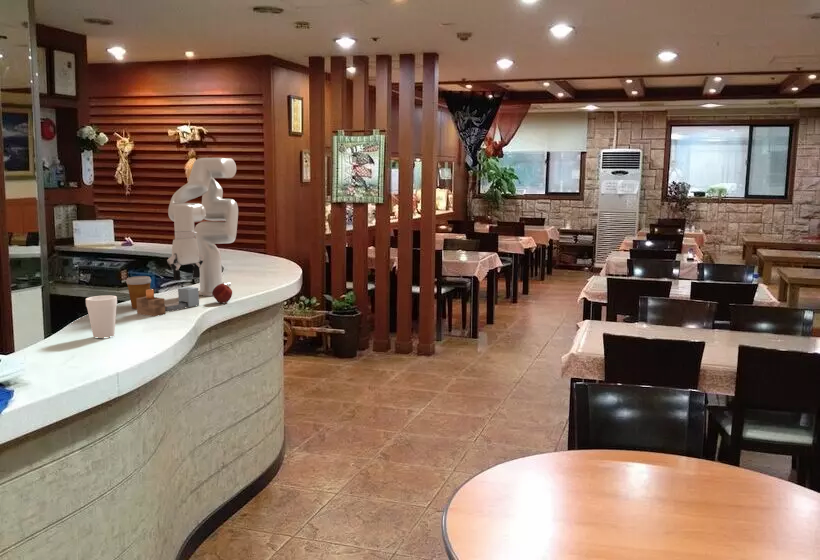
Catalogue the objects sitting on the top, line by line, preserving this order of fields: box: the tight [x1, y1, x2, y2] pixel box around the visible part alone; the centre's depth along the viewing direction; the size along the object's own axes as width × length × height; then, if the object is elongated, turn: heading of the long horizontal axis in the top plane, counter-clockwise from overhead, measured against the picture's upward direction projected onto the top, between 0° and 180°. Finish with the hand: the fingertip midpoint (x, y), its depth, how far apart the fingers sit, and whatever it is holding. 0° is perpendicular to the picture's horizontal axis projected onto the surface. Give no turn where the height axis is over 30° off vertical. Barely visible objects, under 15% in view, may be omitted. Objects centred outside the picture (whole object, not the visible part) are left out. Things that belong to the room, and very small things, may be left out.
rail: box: [165, 301, 188, 312], centre depth 291 cm, size 15×4×2 cm, turn 147°
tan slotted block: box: [136, 296, 166, 317], centre depth 280 cm, size 5×10×6 cm, turn 57°
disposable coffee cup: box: [125, 275, 152, 310], centre depth 293 cm, size 10×10×12 cm
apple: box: [212, 284, 233, 304], centre depth 301 cm, size 7×8×8 cm
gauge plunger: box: [146, 288, 155, 300], centre depth 279 cm, size 3×3×4 cm
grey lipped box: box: [177, 286, 200, 308], centre depth 295 cm, size 5×6×7 cm
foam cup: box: [85, 294, 118, 338], centre depth 242 cm, size 10×9×13 cm
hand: (186, 278), depth 293 cm, fingers open, 9 cm apart
